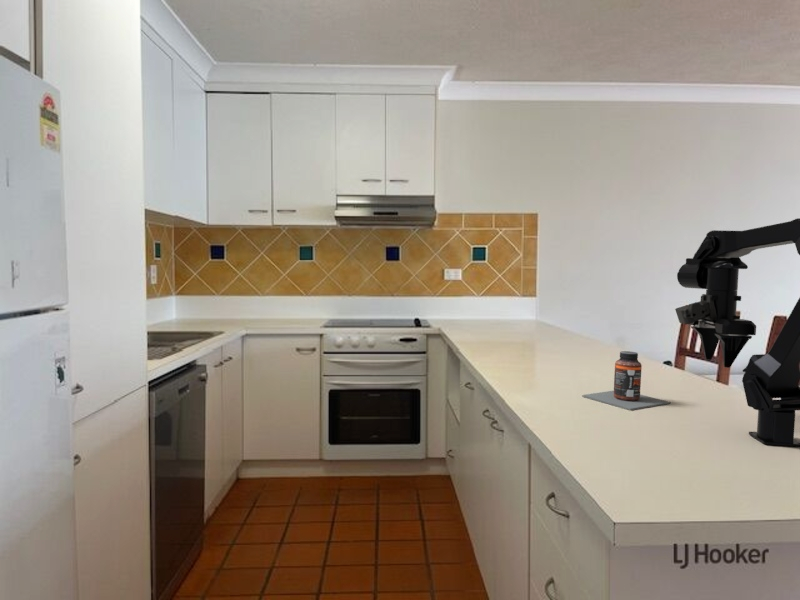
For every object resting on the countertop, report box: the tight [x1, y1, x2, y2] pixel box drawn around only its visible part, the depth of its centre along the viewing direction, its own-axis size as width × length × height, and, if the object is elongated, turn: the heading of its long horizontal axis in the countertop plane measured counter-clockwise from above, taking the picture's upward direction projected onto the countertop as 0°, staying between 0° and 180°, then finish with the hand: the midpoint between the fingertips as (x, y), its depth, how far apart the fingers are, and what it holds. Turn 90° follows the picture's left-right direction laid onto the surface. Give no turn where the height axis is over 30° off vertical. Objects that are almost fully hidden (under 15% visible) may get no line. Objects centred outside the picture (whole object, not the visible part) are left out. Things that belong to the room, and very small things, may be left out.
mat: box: [581, 390, 671, 411], centre depth 132 cm, size 14×14×1 cm
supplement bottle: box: [613, 350, 643, 401], centre depth 132 cm, size 6×6×11 cm
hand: (717, 363), depth 117 cm, fingers open, 9 cm apart
